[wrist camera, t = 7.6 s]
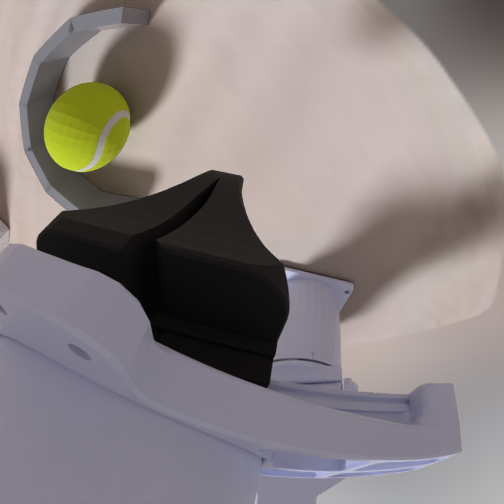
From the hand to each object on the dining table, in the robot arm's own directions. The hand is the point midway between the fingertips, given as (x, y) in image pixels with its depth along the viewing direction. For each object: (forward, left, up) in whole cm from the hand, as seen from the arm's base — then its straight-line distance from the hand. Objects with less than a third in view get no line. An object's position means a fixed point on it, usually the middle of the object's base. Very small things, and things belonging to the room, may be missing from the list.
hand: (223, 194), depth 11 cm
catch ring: (0, +15, -9) cm, 17 cm away
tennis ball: (0, +12, -10) cm, 15 cm away
